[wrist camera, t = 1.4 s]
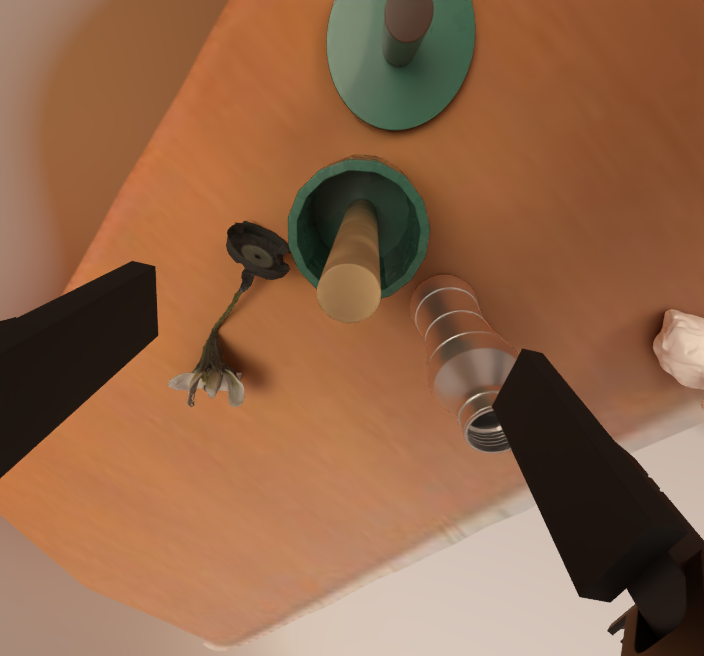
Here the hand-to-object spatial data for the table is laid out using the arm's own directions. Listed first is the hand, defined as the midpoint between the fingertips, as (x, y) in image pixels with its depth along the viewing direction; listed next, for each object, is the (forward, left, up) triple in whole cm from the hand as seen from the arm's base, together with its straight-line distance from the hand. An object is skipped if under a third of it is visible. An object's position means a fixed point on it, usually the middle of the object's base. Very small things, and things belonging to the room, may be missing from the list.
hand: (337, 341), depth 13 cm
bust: (-36, +11, -25) cm, 45 cm away
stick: (0, 0, -24) cm, 24 cm away
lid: (-2, -13, -24) cm, 27 cm away
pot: (0, 0, -25) cm, 25 cm away
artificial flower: (+13, +13, -25) cm, 31 cm away
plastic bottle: (-9, +8, -25) cm, 28 cm away
